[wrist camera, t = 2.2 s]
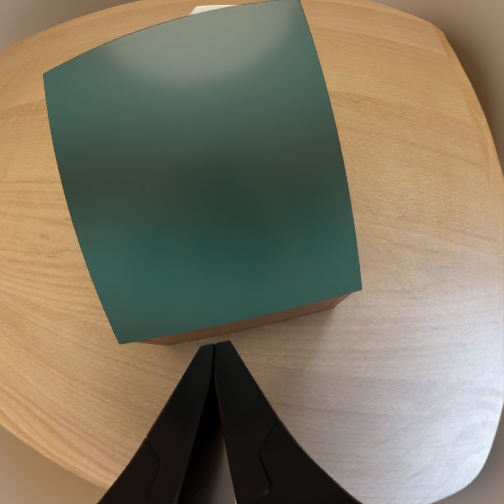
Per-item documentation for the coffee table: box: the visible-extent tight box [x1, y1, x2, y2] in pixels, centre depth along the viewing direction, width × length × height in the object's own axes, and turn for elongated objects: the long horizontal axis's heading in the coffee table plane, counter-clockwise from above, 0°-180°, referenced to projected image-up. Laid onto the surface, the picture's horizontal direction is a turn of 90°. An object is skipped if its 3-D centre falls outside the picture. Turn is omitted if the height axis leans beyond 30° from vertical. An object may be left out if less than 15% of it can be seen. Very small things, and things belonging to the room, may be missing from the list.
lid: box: [43, 0, 362, 344], centre depth 13 cm, size 14×13×1 cm
